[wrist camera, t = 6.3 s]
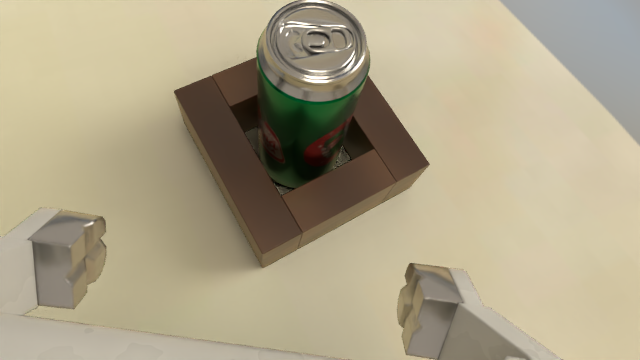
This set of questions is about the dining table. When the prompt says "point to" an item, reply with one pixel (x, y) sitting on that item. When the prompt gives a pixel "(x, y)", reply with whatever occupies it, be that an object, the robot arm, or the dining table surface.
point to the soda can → (308, 88)
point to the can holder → (316, 195)
